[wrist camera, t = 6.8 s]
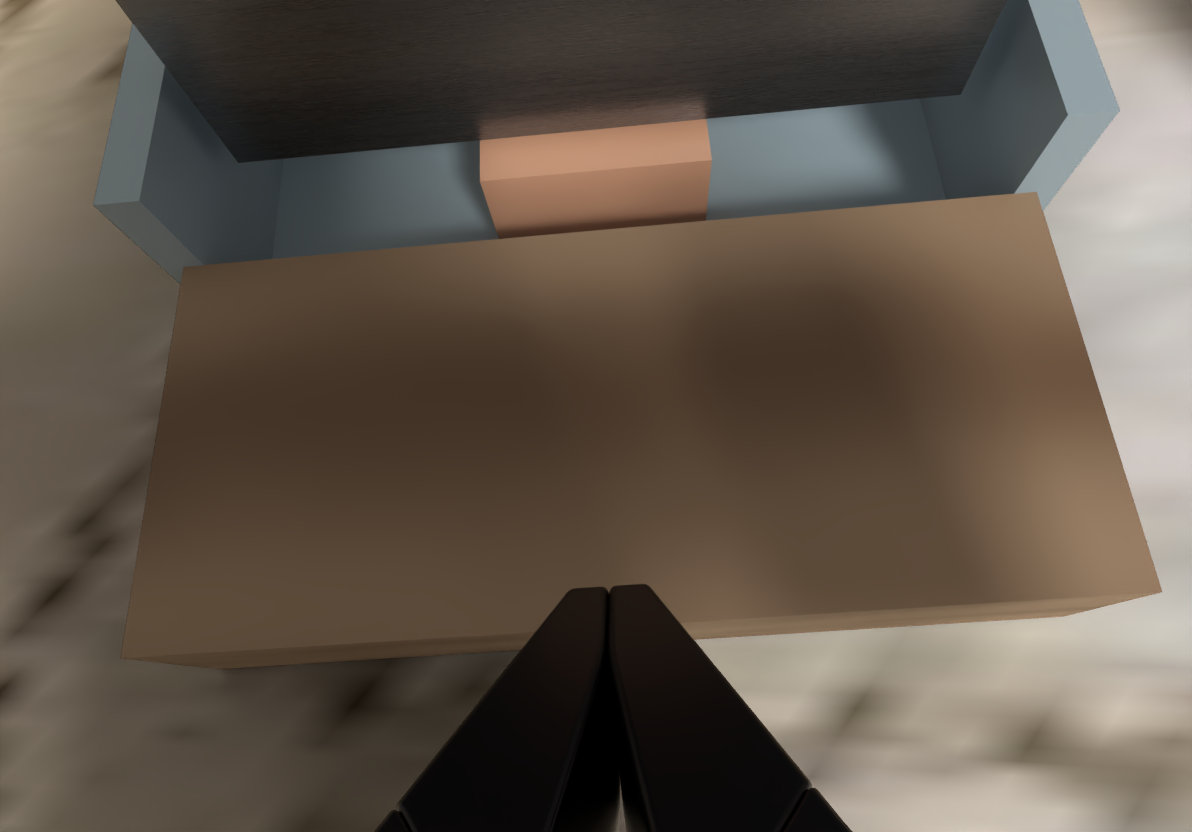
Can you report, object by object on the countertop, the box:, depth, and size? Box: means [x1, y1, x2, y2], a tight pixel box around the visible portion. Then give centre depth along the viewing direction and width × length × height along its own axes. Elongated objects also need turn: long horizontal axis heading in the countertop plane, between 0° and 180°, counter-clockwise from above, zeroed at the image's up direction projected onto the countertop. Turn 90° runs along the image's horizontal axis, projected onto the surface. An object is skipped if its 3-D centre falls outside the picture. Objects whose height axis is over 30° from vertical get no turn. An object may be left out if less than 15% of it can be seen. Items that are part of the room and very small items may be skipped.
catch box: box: [93, 0, 1120, 285], centre depth 17 cm, size 8×17×5 cm, turn 93°
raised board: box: [121, 192, 1162, 669], centre depth 15 cm, size 7×16×3 cm, turn 93°
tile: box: [480, 119, 712, 239], centre depth 17 cm, size 4×4×2 cm
